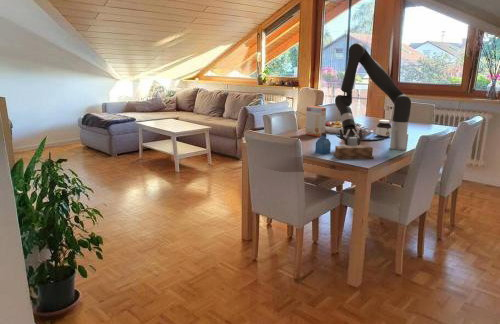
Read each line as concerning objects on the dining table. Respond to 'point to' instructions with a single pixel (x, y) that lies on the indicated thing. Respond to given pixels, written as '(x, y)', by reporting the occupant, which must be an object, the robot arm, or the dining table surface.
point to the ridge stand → (353, 152)
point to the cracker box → (315, 120)
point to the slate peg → (352, 141)
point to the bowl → (333, 127)
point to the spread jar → (383, 128)
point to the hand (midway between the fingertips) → (352, 144)
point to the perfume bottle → (323, 145)
